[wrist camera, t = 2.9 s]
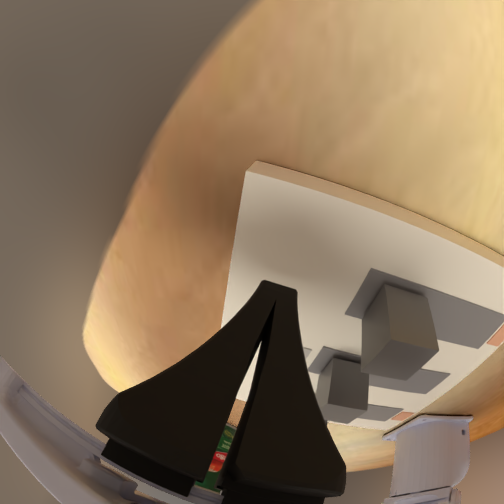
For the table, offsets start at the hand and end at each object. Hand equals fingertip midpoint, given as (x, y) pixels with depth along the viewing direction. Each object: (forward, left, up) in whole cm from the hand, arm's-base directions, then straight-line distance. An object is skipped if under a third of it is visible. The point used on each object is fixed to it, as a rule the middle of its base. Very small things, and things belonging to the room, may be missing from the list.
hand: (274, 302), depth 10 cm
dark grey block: (-5, 0, -2) cm, 6 cm away
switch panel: (-7, +6, -4) cm, 10 cm away
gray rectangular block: (-6, +6, -2) cm, 8 cm away
